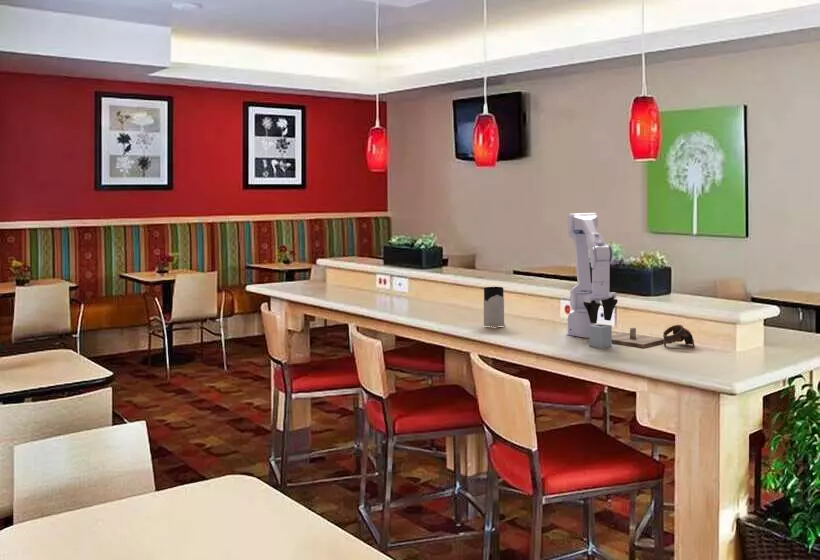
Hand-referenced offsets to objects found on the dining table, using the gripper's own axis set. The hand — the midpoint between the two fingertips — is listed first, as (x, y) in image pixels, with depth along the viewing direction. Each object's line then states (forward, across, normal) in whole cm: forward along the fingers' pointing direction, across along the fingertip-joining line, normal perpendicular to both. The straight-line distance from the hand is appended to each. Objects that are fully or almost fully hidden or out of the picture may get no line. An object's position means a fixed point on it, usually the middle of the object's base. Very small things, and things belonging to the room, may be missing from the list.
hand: (600, 321), depth 290 cm
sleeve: (+8, 0, 0) cm, 8 cm away
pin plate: (+8, +14, -3) cm, 17 cm away
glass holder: (+9, +5, +56) cm, 57 cm away
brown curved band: (+9, +18, -18) cm, 27 cm away
